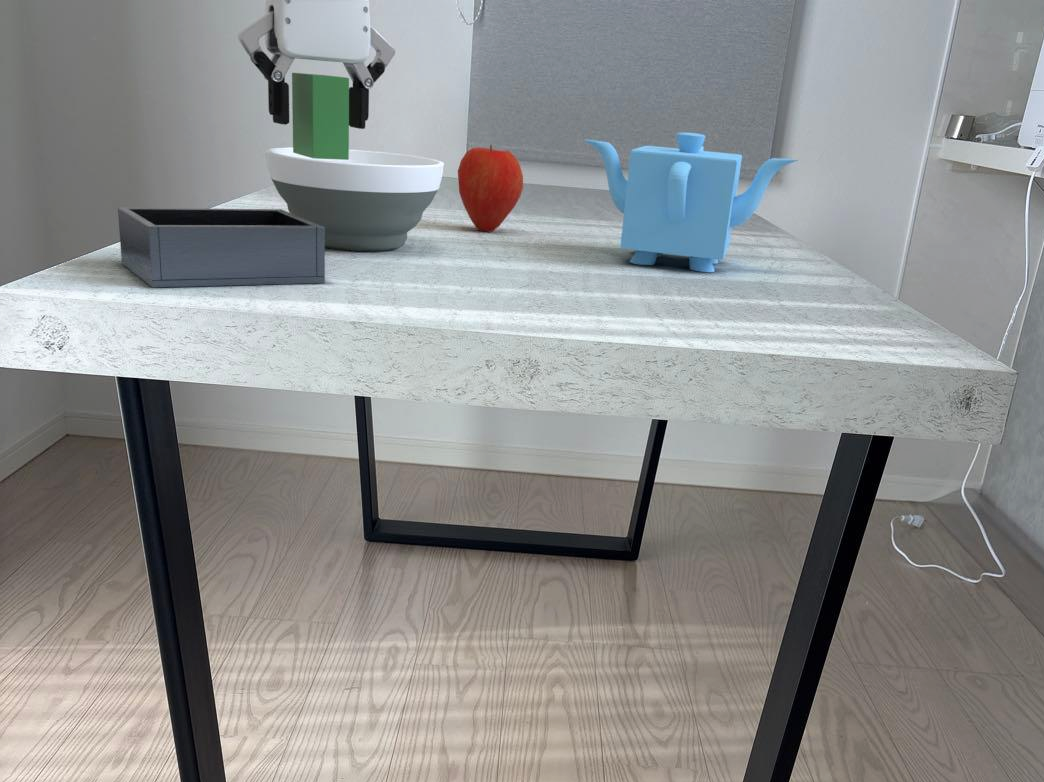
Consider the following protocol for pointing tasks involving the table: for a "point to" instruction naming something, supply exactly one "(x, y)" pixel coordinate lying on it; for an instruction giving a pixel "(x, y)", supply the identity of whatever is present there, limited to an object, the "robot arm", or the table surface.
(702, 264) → the teakettle
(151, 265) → the grey open box
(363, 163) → the bowl
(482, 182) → the apple
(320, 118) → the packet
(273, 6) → the robot arm
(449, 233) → the table surface
